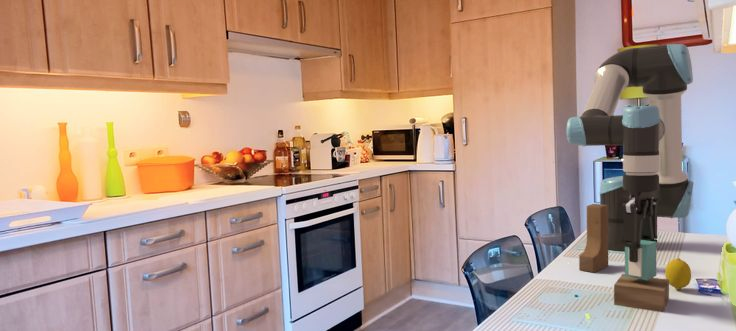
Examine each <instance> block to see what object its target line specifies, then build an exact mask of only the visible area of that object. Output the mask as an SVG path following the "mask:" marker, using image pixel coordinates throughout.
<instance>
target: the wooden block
mask: <svg viewBox="0 0 736 331" xmlns="http://www.w3.org/2000/svg"><path fill="white" fill-rule="evenodd" d="M578 260H579V261H578V262H579V263H578V264H579V266H578V269H579V271H582V272H583V271H584V272H587V273H597V272H599V271H601V270H604V269H606V268H608V267H609V249H608V205H602V204H600V203H592V204H589V205H586V245H585V247H584V250H583V252H582V253H580V254H579V255H578Z"/></svg>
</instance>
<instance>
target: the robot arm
mask: <svg viewBox="0 0 736 331" xmlns="http://www.w3.org/2000/svg"><path fill="white" fill-rule="evenodd" d="M693 80H694V76H693V66H692V60H691V55H690V51H689V48H688V46H687V45H686V44H682V43H672V44H671V43H668V44H666V43H665V44H659V45H651V46H650V45H649V46H643V47H642V46H641V47H632V48H627V49H623V50H621V51H618V52H616V53H615V54H613V55H611V56H609V57H608V58H607V59H605V60H604V62H603V63H601V64H600V65H599V67H598V68H597V70H596V73H595V74H594V78H593V81H594V85H593V88H592V89H591V90H592V91H591V93H590V95H589V97H588V100H587V102H586V104H585V106H584V109H583V112H582V114H581V116H580V115H577V116H572V117H569V118H568V120H567V123H566V129H565V130H566V138H567V142H568V144H570V145H571V146H581V147H590V146H591V147H592V146H595V147H598V146H622V158H621V162H622V171H623V172H624V173H623V175H619V176H612V177H607V178H604V179H602V180H601V182H600V190H599V198H600V201H599V202H600V203H599V204H602V205H608V250H609V249H610V250H609V251H619V252H620V251H623V252H625V247H629V275H633V276H639V277H641V276H642V248H640V242H641V240H646V241H654V242H656V244H657V243H658V218H667V219H668V218H669V219H673V218H677V219H684V218H686V217H688V216H689V214H690V213H689V212H690V207H691V202H692V194H693V189H694V181H691V180H689V175H688V174H687V173H686V172H685V171H683V144H682V143H683V142H682V141H683V139H682V138H683V137H682V134H683V133H682V132H683V130H682V129H683V128H682V126H683V125H682V95H683V94H684V93H686V92H687V90H688V85H691V84H692V83H693ZM638 87H640V88H642V94H643V95H645V97H647V98H648V105H637V106H627V107H626V106H625V108H624V109H623V110H622V114H621V115H619V114H618V115H615V111H616V109H617V106H618V103H619V100H620V97H621V95H622V92H624V90H626V88H638Z"/></svg>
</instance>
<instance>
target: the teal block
mask: <svg viewBox="0 0 736 331" xmlns="http://www.w3.org/2000/svg"><path fill="white" fill-rule="evenodd" d="M640 248H642V276H641V277H639V276H633V275H629V247H625V251H624V274H625V276H626V277H632V278H637V279H642V280H649V279H651V278H656V276H657V243H656V242H654V241H646V240H641V242H640Z"/></svg>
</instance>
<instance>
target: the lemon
mask: <svg viewBox="0 0 736 331" xmlns="http://www.w3.org/2000/svg"><path fill="white" fill-rule="evenodd" d="M664 271H665V272H664V273H665V279H668V280H669V286H672V287H673V288H674V289H675V290H677V291H680V290H681V289H683V288H684V289H685V288H686V287H687V286H689V284H690V282H691V280H692V271H691V267H690V265H689V264H688V263H687V262H686V261H685V260H683V259H681V258H680V257H679V258H678V257H676V258H675V259H672V260H670V261H669V262H667V264H666V267H665V270H664Z"/></svg>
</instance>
